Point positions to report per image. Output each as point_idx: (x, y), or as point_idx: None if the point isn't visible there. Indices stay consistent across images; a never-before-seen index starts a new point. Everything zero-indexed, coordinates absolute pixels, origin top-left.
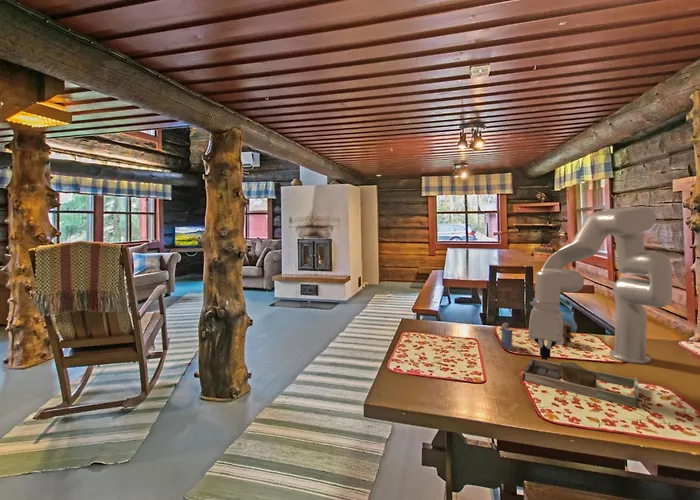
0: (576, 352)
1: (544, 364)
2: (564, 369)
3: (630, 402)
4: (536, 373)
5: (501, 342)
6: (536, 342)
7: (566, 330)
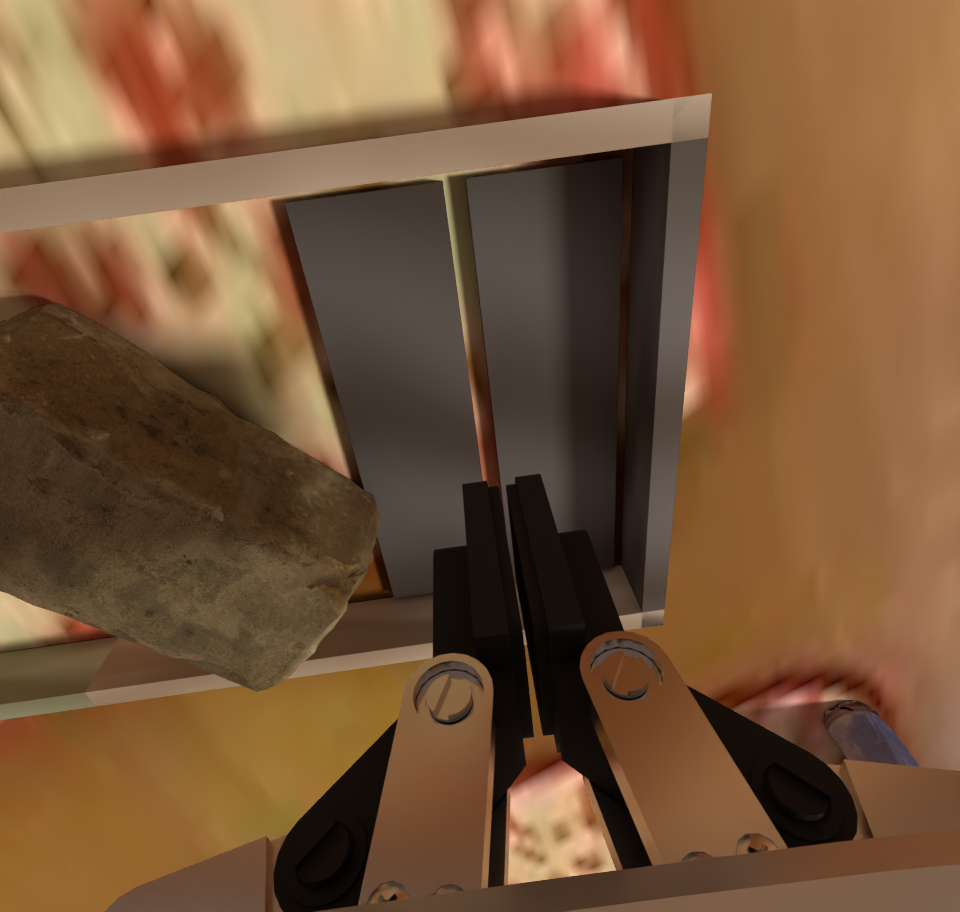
0: None
1: None
2: (272, 507)
3: None
4: (562, 400)
5: None
6: (757, 726)
7: None
